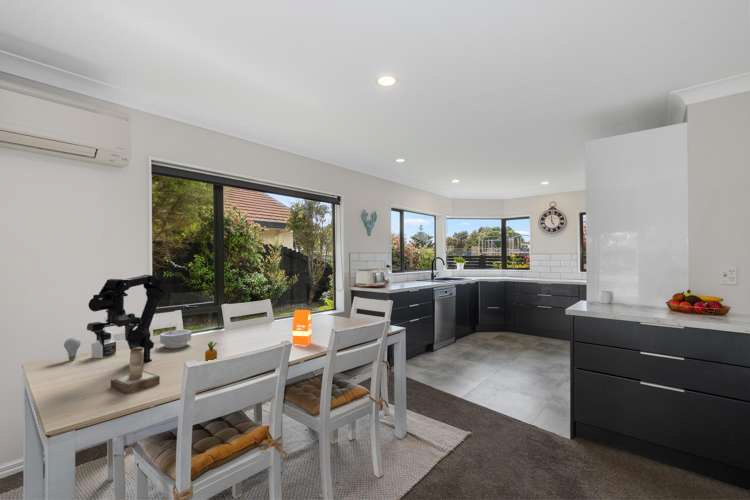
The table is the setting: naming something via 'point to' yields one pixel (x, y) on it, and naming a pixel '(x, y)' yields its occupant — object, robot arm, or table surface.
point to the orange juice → (302, 327)
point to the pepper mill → (136, 363)
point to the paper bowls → (175, 338)
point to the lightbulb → (72, 347)
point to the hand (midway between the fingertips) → (115, 343)
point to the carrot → (211, 352)
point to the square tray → (134, 382)
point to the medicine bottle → (104, 347)
